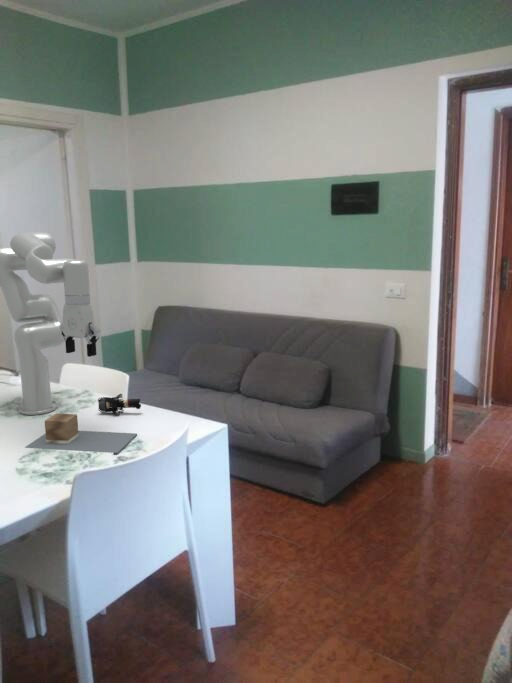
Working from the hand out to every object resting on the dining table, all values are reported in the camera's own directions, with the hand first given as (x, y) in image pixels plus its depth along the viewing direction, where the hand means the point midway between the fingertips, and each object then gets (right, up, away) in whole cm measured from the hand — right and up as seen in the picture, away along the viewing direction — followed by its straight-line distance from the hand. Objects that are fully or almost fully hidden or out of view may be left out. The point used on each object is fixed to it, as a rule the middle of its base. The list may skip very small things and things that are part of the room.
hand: (81, 354), depth 181 cm
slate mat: (+2, -27, -6) cm, 28 cm away
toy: (+7, -22, +22) cm, 31 cm away
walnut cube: (-4, -26, -5) cm, 27 cm away
